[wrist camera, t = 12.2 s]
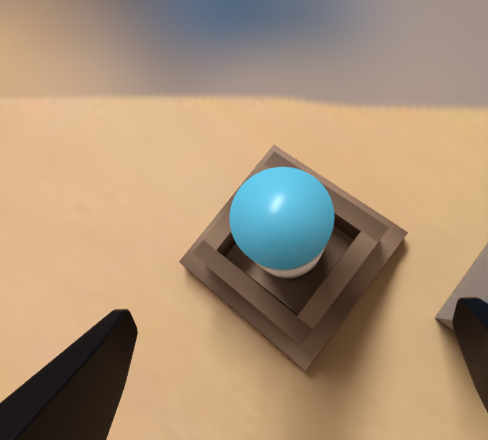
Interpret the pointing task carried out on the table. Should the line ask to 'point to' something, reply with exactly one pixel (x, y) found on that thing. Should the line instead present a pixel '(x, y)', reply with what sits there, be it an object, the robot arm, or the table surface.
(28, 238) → the table surface
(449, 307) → the upper dock
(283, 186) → the plug
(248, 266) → the low dock
